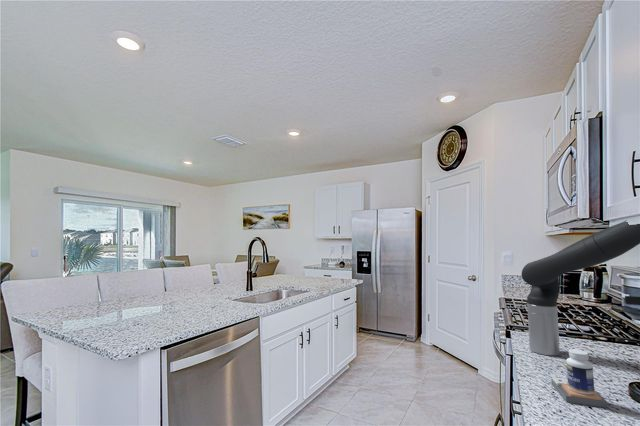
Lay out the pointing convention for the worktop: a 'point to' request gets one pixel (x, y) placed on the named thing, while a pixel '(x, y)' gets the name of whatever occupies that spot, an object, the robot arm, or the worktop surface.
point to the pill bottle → (580, 372)
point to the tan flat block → (577, 394)
